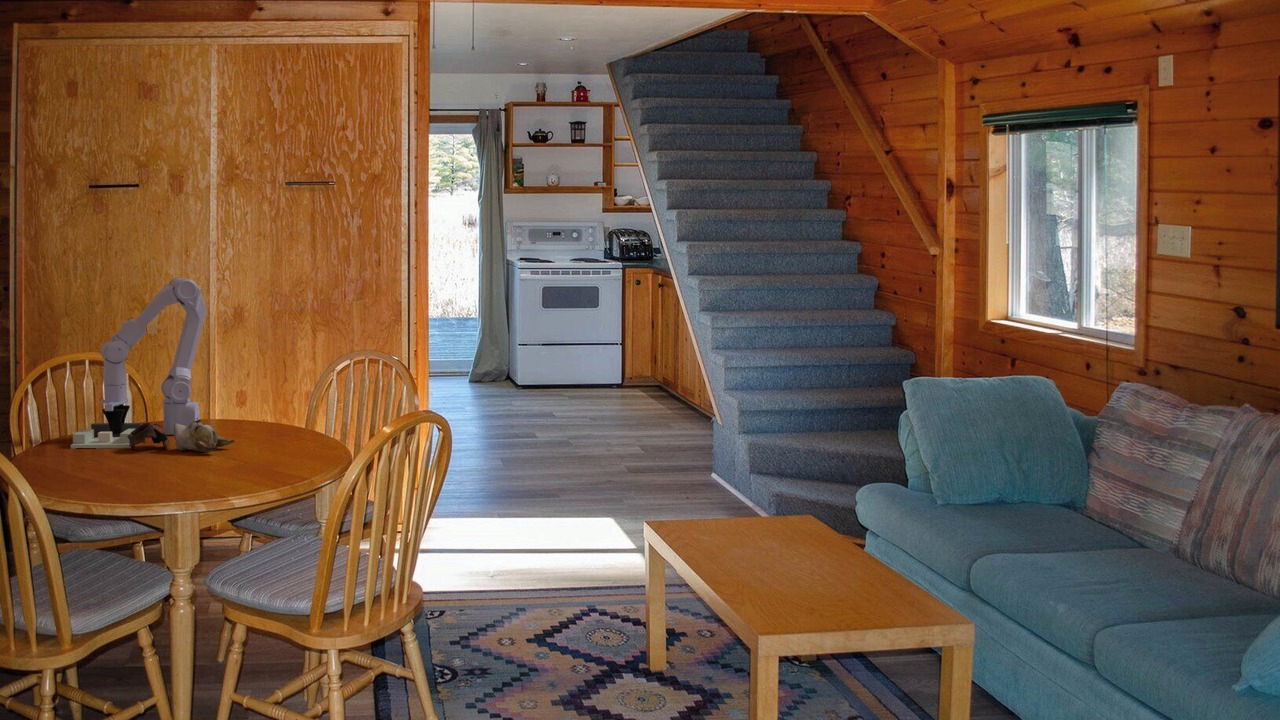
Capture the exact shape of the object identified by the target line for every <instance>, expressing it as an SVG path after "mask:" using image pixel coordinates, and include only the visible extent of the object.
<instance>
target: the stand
mask: <svg viewBox="0 0 1280 720" xmlns="http://www.w3.org/2000/svg"><path fill="white" fill-rule="evenodd" d="M133 430H134V429H127V430H125V431H124V432H122V433H121V434H120V437H112V432H99V433H98V437H94V429H91V428H82V429H80V430H78V431H76V432H74V433H73V434H72V444H70V449H72V450H76V448H96V449H132V448H131V446H129V442H130V440H129V439H128V435H129V434H130V433H131V432H132V431H133ZM130 435H131V434H130ZM131 436H132V435H131Z"/></svg>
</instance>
